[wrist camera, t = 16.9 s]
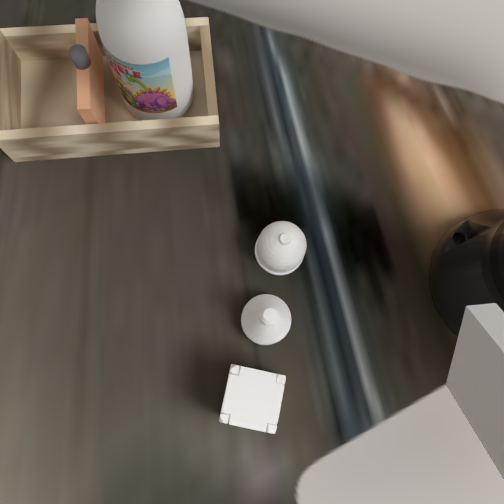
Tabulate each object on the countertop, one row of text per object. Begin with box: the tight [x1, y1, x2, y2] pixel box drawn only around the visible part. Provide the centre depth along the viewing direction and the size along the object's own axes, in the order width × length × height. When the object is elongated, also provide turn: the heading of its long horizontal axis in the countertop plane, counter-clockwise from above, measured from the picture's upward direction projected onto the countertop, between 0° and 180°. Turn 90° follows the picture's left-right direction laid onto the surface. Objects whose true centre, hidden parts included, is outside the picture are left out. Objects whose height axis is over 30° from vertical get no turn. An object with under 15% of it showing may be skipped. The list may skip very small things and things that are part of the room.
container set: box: [219, 221, 307, 434], centre depth 45 cm, size 20×5×6 cm, turn 168°
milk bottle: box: [96, 0, 194, 120], centre depth 42 cm, size 8×8×20 cm
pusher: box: [69, 18, 106, 124], centre depth 47 cm, size 2×10×8 cm, turn 6°
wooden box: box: [0, 17, 220, 162], centre depth 49 cm, size 22×13×7 cm, turn 96°
